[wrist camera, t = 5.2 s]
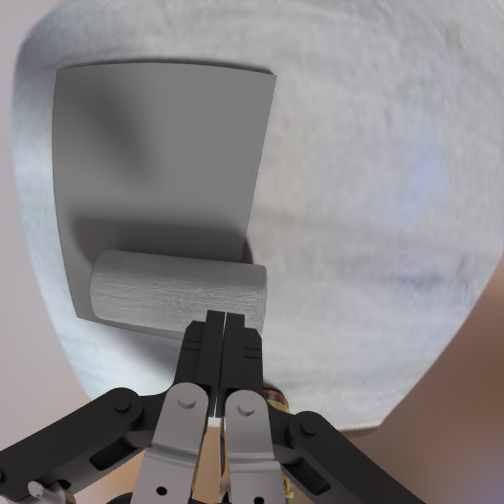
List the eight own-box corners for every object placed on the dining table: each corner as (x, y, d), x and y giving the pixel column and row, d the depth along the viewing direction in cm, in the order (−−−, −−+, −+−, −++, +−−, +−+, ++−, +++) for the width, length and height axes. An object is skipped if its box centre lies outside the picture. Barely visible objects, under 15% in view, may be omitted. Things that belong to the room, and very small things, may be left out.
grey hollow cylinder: (260, 274, 21) (121, 260, 20) (269, 256, 16) (97, 239, 16) (256, 339, 19) (111, 321, 19) (264, 338, 15) (83, 314, 14)
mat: (62, 69, 12) (57, 69, 12) (276, 76, 14) (277, 75, 13) (79, 312, 22) (77, 317, 22) (225, 342, 24) (225, 347, 23)
